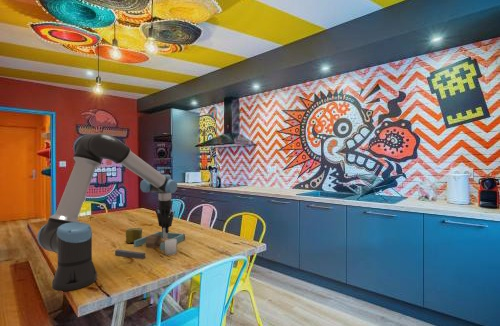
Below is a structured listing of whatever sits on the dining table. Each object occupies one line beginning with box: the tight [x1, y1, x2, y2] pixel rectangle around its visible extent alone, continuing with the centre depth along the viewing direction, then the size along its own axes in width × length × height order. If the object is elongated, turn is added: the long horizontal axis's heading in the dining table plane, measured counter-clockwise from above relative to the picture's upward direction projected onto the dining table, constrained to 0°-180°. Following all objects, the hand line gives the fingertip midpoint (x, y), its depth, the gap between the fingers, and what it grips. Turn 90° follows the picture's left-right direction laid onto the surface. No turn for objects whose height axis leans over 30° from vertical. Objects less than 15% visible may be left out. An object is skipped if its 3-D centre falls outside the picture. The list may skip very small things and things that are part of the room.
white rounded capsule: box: [164, 238, 178, 256], centre depth 143 cm, size 6×6×7 cm
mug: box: [125, 227, 143, 244], centre depth 166 cm, size 12×10×10 cm
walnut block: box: [145, 233, 162, 249], centre depth 155 cm, size 6×6×6 cm
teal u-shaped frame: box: [133, 231, 186, 251], centre depth 161 cm, size 22×19×4 cm
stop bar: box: [114, 249, 146, 260], centre depth 139 cm, size 2×18×2 cm, turn 70°
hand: (165, 238), depth 165 cm, fingers closed
